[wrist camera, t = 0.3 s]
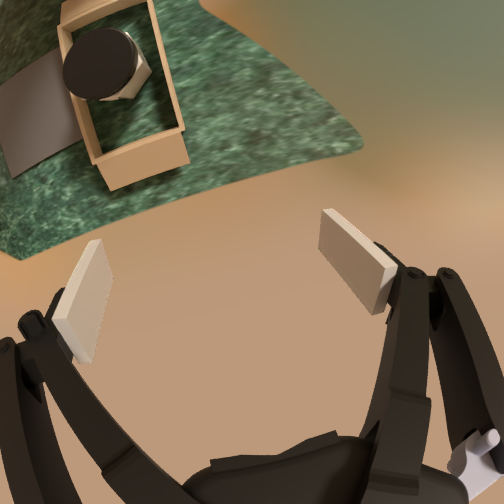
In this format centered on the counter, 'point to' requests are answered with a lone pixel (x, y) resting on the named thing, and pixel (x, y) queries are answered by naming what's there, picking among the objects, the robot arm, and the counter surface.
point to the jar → (105, 66)
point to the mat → (36, 114)
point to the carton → (113, 162)
